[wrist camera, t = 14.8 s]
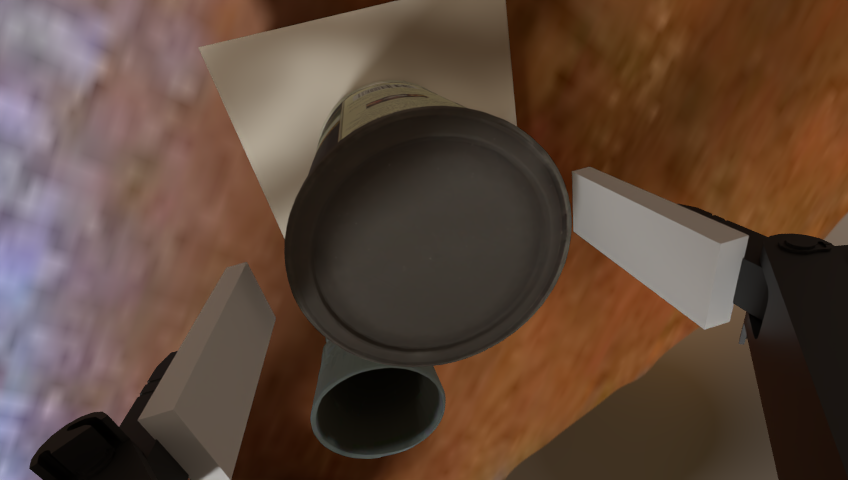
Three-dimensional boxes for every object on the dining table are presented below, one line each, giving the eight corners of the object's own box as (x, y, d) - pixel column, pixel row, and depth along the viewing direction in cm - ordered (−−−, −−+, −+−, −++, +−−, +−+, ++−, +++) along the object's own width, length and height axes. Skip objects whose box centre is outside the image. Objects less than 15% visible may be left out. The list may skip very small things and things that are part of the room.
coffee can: (380, 253, 28) (403, 406, 16) (283, 143, 24) (209, 242, 11) (492, 174, 27) (611, 275, 15) (413, 43, 22) (492, 28, 10)
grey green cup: (301, 326, 37) (282, 434, 27) (364, 257, 35) (371, 344, 25) (378, 367, 42) (388, 473, 31) (439, 307, 39) (472, 400, 29)
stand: (500, 210, 35) (526, 237, 30) (317, 261, 34) (311, 298, 29) (473, -9, 27) (503, -25, 22) (229, 49, 26) (198, 47, 21)
